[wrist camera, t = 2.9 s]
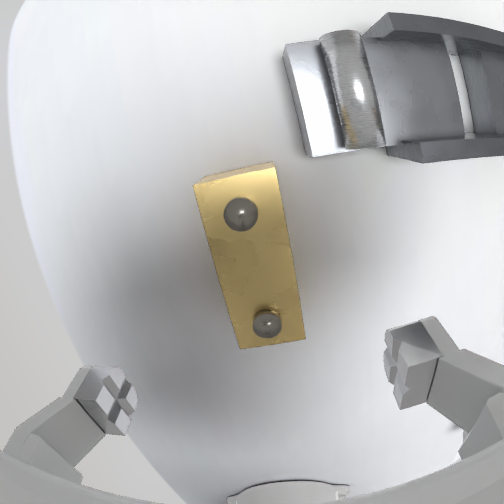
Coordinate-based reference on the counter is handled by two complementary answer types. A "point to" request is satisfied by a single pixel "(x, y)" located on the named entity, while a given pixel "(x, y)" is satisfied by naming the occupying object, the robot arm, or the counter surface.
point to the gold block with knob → (252, 254)
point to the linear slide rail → (400, 89)
